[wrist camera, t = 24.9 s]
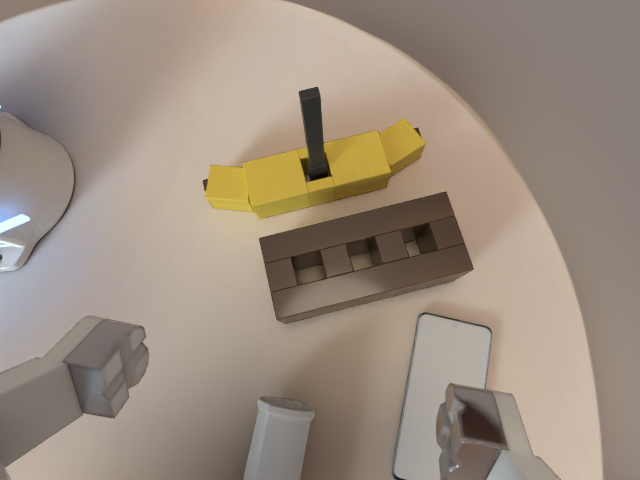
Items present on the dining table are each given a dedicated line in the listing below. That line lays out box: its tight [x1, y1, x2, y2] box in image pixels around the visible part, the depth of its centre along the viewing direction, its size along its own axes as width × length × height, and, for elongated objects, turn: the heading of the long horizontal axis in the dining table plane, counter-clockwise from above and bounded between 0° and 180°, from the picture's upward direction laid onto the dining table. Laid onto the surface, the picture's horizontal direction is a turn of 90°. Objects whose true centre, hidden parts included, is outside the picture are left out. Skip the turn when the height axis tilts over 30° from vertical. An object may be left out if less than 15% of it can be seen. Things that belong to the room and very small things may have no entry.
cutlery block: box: [259, 192, 474, 324], centre depth 38 cm, size 7×17×6 cm, turn 104°
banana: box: [203, 118, 426, 219], centre depth 42 cm, size 6×23×4 cm, turn 104°
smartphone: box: [392, 313, 492, 480], centre depth 37 cm, size 7×1×15 cm
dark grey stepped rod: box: [299, 87, 328, 181], centre depth 36 cm, size 2×1×16 cm, turn 104°
